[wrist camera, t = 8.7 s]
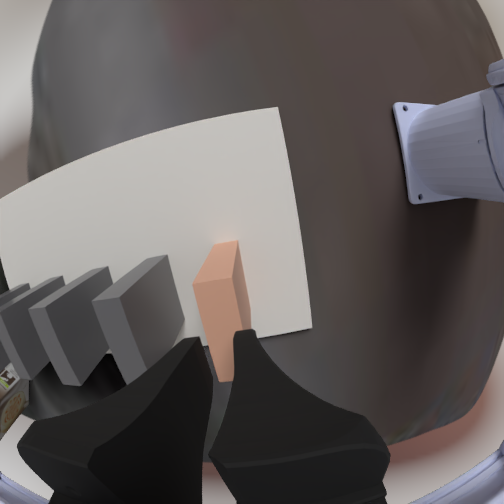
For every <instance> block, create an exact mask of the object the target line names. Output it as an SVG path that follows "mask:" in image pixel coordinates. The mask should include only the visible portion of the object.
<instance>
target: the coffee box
mask: <svg viewBox="0 0 504 504" xmlns="http://www.w3.org/2000/svg"><path fill="white" fill-rule="evenodd" d="M28 404H29V380H28V379H22V378H19V376H18V374H17V372H16V371H15V369H14V367H13V365H12V363H10V364H9V365H8V366H6V367H5V368H4V369H3V370H2V371H1V372H0V440H1V439H2V437H3V436H4V435H5V433H6V432H7V431H8V429H9V428H10V427H11V425H12V424H13V423H14V422H15V420H16V419H17V418H18V417H19V415H20V414H21V413H22V412H23V410H24V409H25V408H26V407H27V406H28Z"/></svg>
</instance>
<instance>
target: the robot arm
mask: <svg viewBox="0 0 504 504" xmlns="http://www.w3.org/2000/svg"><path fill="white" fill-rule="evenodd" d="M488 72H489V73H488V74H487V75H486V77H487V79H488V81H489V83H490V85H494V86H492V87H490V88H488V89H486V90H483V91H479V92H476V93H473V94H470V95H467V96H464V97H461V98H458V99H455V100H452V101H449V102H446V103H443V104H440V105H428V104H416V103H401V102H398V103H395V104H394V105H393V111H394V116H395V120H396V124H397V129H398V134H399V139H400V144H401V149H402V155H403V161H404V167H405V174H406V181H407V189H408V198H409V201H410V203H412V204H421V203H428V202H435V201H443V200H450V199H457V198H465V197H466V198H475V199H483V200H490V201H497V202H504V59H502V60H500V61H497V62H495V63H492V64H490V65H489V70H488ZM403 107H404V108H405V111H404V110H403ZM419 194H420V200H419V199H418V195H419ZM233 353H234V378H233V383H232V389H231V393H230V398H229V402H228V406H227V410H226V413H225V416H224V419H223V422H222V425H221V428H220V430H219V432H218V435H217V437H216V439H215V442H214V444H213V446H212V448H211V450H210V452H209V454H208V455H209V457H210V459H211V460H212V462H213V464H214V466H215V467H216V469H217V471H218V472H219V474H220V476H221V477H222V479H223V481H224V482H225V484H226V485H227V487H228V489H229V490H230V492H231V493H232V495H233V496H234V498H235V499H236V501H237V504H387V502H386V499H385V496H386V495H387V493H386V489H385V487H384V484H383V482H382V480H383V478H384V475H385V473H386V470H387V468H388V465H389V462H390V453H389V451H388V448H387V446H386V444H385V442H384V441H383V439H382V438H381V436H380V435H379V434H378V432H377V431H376V430H375V428H374V427H373V426H372V425H371V423H370V422H369V421H368V420H367V419H366V418H365V417H364V416H363V415H359V414H356V413H353V412H350V411H347V410H345V409H342V408H339V407H336V406H334V405H332V404H330V403H328V402H325V401H323V400H322V399H320V398H318V397H317V396H315V395H313V394H312V393H310V392H308V391H307V390H305V389H303V388H302V387H301V386H299V385H298V384H297V383H295V382H294V381H293V380H292V379H290V378H289V377H288V376H287V375H286V374H285V373H284V372H283V371H282V370H281V369H280V368H279V367H278V366H277V365H276V364H275V363H274V362H273V361H272V359H271V358H270V357H269V356H268V354H267V353H266V352H265V350H264V349H263V347H262V346H261V344H260V342H259V340H258V338H257V335H256V331H255V330H253V329H246V330H240V331H236V332H235V334H234V337H233ZM212 392H213V377H212V374H211V371H210V368H209V365H208V361H207V358H206V355H205V352H204V349H203V346H202V342H201V339H200V336H197V337H189V338H184V339H182V340H181V341H180V342H179V343H177V344H176V345H175V346H174V347H173V348H172V349H171V350H170V351H169V352H167V353H166V354H165V355H164V356H163V357H162V358H161V359H160V360H159V361H157V362H156V363H155V364H154V365H153V366H152V367H150V368H149V369H148V370H147V371H145V372H144V373H143V374H142V375H140V376H139V377H138V378H137V379H135V380H134V381H132V382H131V383H129V384H128V385H127V386H125V387H123V388H122V389H120V390H119V391H117V392H115V393H114V394H112V395H110V396H108V397H106V398H104V399H102V400H100V401H98V402H96V403H94V404H92V405H89V406H87V407H84V408H82V409H79V410H77V411H74V412H71V413H68V414H64V415H61V416H57V417H53V418H48V419H44V420H39V421H34V422H33V423H32V424H31V426H30V427H29V429H28V430H27V431H26V433H25V434H24V435H23V437H22V438H21V440H20V441H19V442H18V444H17V448H18V451H19V454H20V456H21V457H22V459H23V460H24V461H25V463H26V464H27V465H28V466H29V467H30V468H31V469H32V470H33V471H34V472H35V473H36V474H37V475H38V476H39V477H40V478H41V479H42V480H43V481H44V482H45V483H46V484H48V486H50V487H51V488H52V489H53V490H54V493H53V495H52V497H51V499H50V501H49V500H47V499H45V498H43V497H41V496H39V495H37V494H35V493H33V492H31V491H30V490H28V489H26V488H24V487H23V486H21V485H19V484H18V483H16V482H14V481H13V480H11V479H9V478H8V477H6V476H5V475H3V474H2V473H1V471H0V504H202V462H203V448H204V442H205V436H206V431H207V425H208V420H209V414H210V409H211V403H212ZM409 504H504V440H503V442H502V444H501V445H500V448H499V449H498V450H497V451H495V452H494V453H493V454H491V455H490V456H489V457H487V458H486V459H485V460H483V461H482V462H480V463H479V464H478V465H476V466H475V467H473V468H472V469H470V470H469V471H467V472H466V473H464V474H463V475H461V476H459V477H458V478H456V479H455V480H453V481H451V482H450V483H448V484H446V485H444V486H443V487H441V488H439V489H437V490H435V491H434V492H432V493H430V494H428V495H426V496H424V497H422V498H419V499H417V500H415V501H413V502H411V503H409Z"/></svg>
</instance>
